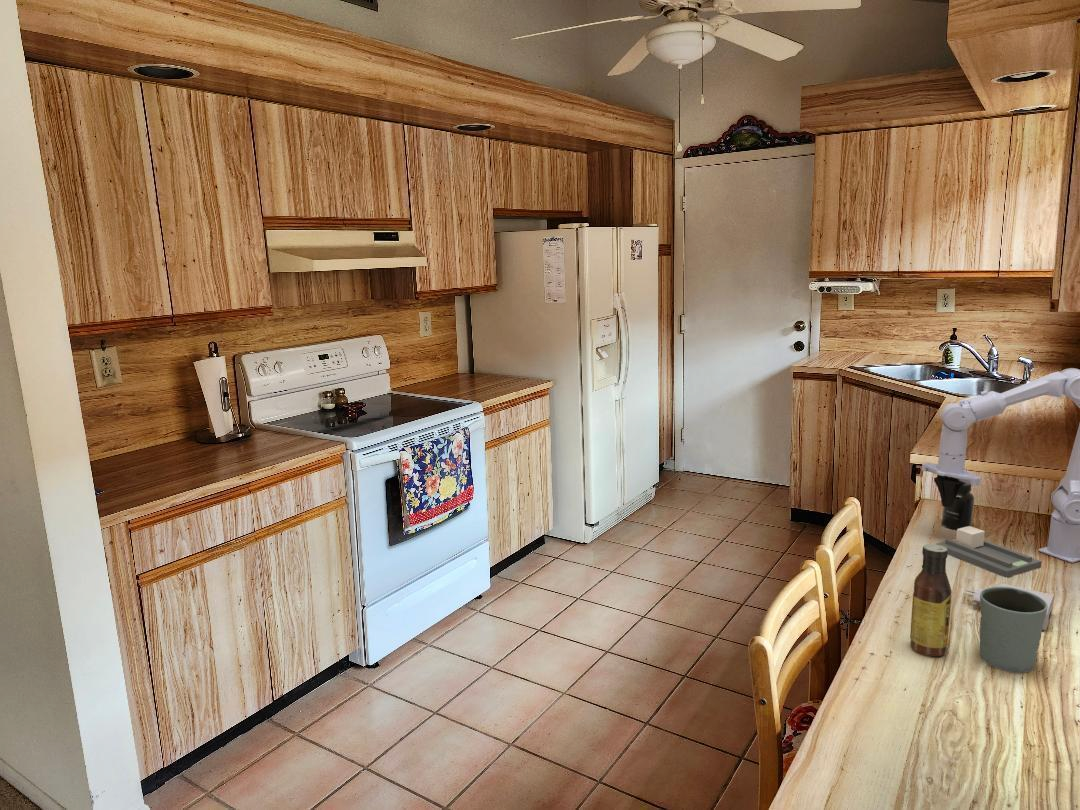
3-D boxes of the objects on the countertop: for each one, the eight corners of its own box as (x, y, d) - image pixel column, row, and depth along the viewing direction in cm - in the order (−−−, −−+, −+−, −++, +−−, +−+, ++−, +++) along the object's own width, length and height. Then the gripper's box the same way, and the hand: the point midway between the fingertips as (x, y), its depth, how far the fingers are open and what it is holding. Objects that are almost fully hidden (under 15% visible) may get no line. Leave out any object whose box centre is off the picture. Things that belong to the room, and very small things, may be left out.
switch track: (968, 540, 189) (969, 531, 188) (1041, 567, 173) (1042, 557, 172) (935, 549, 184) (936, 539, 184) (1006, 577, 168) (1007, 567, 168)
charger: (968, 594, 161) (1052, 615, 152) (958, 610, 154) (1045, 633, 145) (970, 573, 160) (1055, 593, 151) (960, 589, 154) (1048, 610, 144)
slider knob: (968, 539, 185) (969, 525, 184) (983, 545, 181) (984, 531, 181) (955, 543, 183) (957, 529, 182) (970, 548, 180) (972, 534, 179)
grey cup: (1038, 654, 137) (1046, 593, 135) (1041, 682, 129) (1049, 617, 126) (974, 640, 142) (980, 581, 140) (973, 666, 134) (979, 604, 131)
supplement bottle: (944, 529, 196) (948, 485, 194) (939, 520, 203) (943, 477, 200) (974, 531, 194) (978, 487, 192) (967, 522, 201) (972, 479, 198)
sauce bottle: (951, 659, 136) (961, 556, 132) (914, 656, 138) (923, 554, 133) (940, 641, 143) (949, 542, 138) (904, 638, 144) (912, 540, 140)
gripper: (915, 448, 189) (910, 499, 191) (968, 462, 176) (963, 517, 178) (934, 444, 191) (930, 495, 194) (988, 458, 178) (983, 512, 181)
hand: (947, 505), depth 187 cm, fingers closed
